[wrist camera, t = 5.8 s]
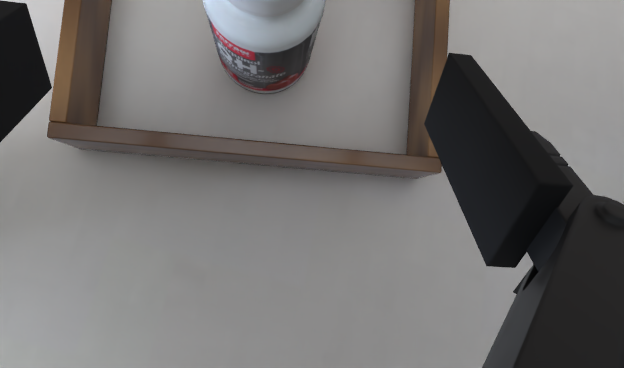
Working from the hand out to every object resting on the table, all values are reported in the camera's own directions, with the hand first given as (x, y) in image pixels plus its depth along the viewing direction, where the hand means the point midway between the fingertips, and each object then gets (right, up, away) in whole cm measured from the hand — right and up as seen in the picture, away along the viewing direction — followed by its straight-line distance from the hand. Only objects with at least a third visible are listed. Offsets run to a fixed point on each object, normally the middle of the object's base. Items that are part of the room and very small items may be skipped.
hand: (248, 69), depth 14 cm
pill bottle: (-1, +4, +11) cm, 12 cm away
